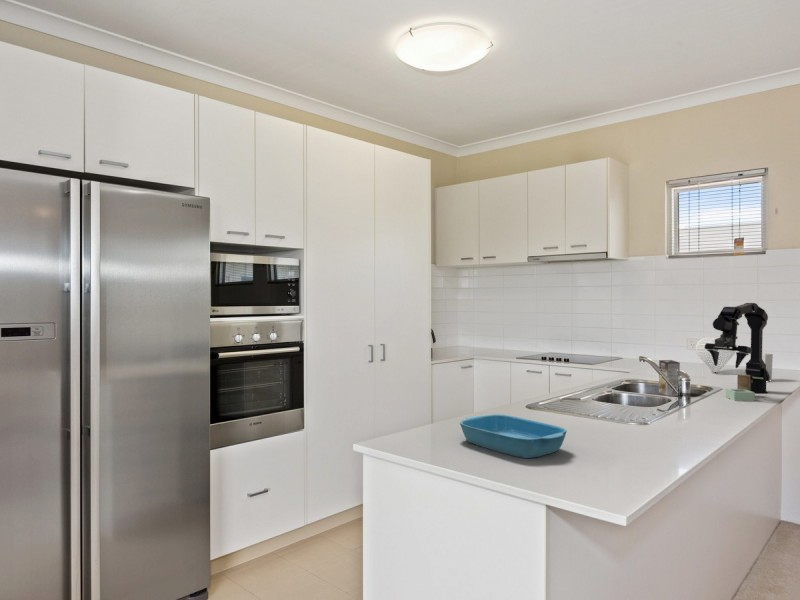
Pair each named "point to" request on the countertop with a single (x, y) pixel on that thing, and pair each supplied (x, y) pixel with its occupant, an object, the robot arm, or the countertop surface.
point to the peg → (743, 382)
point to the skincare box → (768, 363)
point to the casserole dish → (513, 435)
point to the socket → (740, 394)
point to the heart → (728, 357)
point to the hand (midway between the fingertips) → (725, 366)
